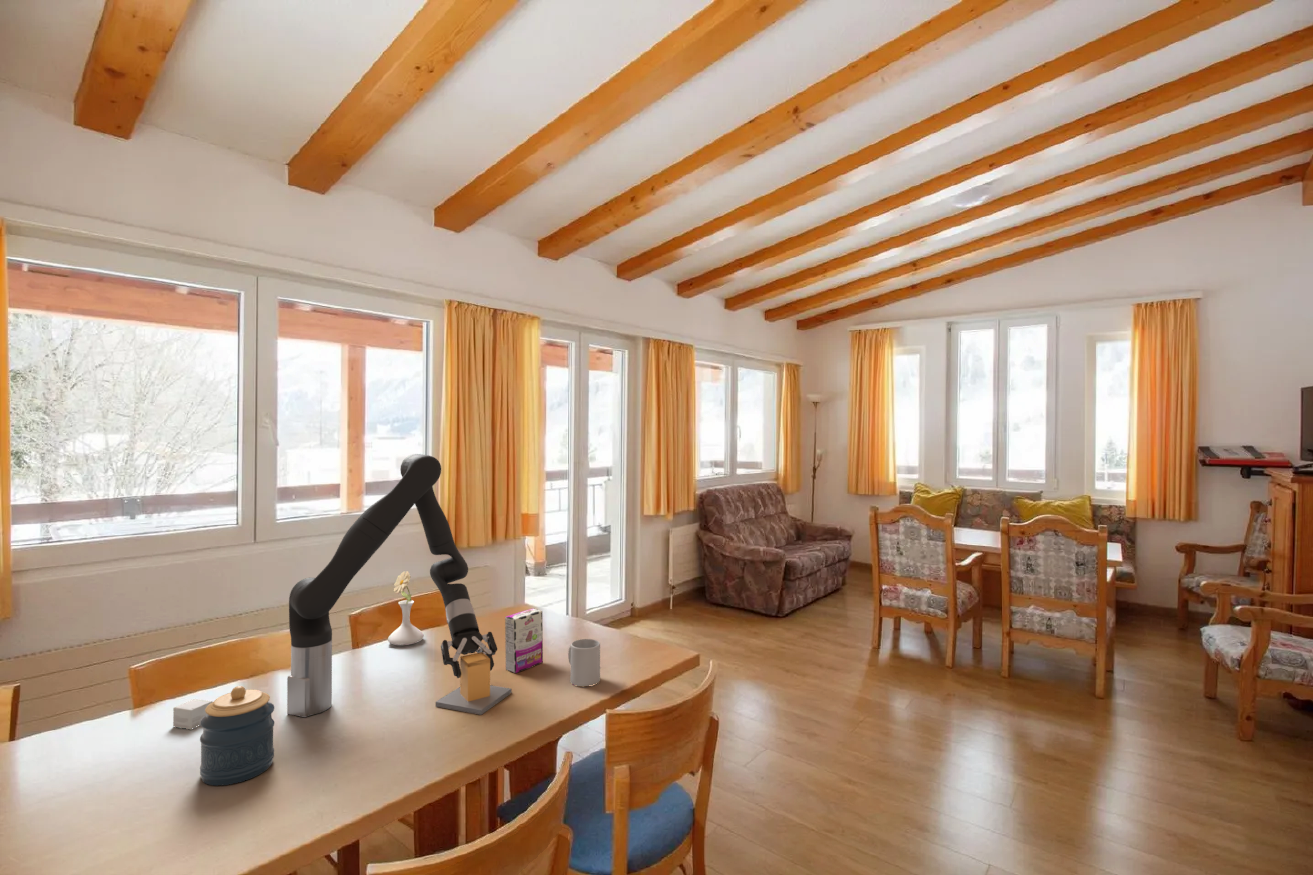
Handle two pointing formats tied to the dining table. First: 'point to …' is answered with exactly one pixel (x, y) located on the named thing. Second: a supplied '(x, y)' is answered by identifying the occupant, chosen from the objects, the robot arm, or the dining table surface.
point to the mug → (584, 662)
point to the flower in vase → (405, 616)
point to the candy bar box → (523, 640)
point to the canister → (236, 737)
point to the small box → (189, 713)
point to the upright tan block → (475, 676)
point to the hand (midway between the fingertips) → (475, 672)
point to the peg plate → (474, 706)
